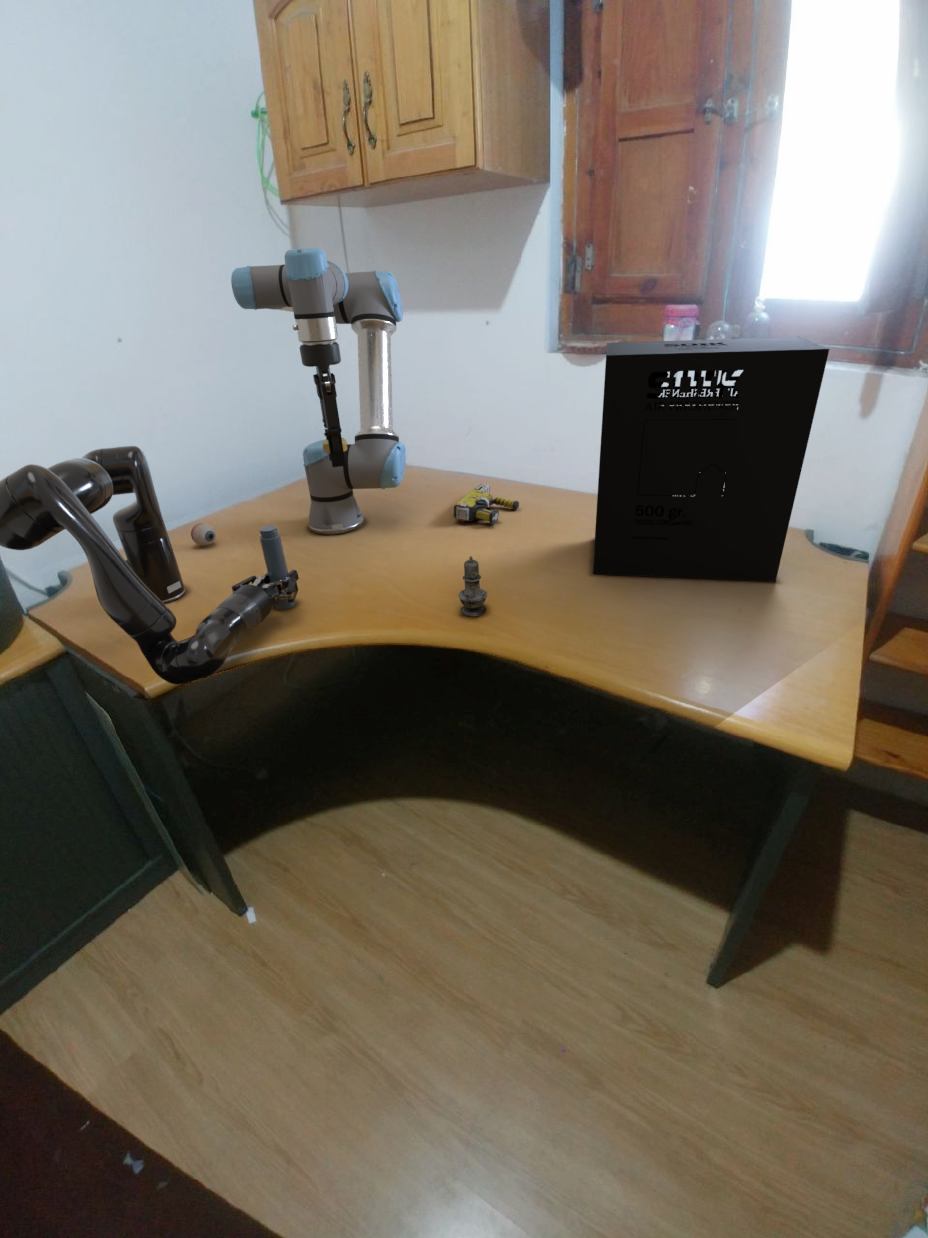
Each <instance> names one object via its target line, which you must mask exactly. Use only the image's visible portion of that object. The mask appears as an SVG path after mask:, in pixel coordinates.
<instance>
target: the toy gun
mask: <svg viewBox="0 0 928 1238" xmlns="http://www.w3.org/2000/svg"><path fill="white" fill-rule="evenodd" d="M493 505H495V506H500V507H504V508H510V509H512V510H514V511H516V510H518V509H519V507H520V502H519V501H518V500H512V499H508V498H504V497H500V496H496V497H495V498H493V496H492V494H491V485H490V484H488V483H486V484H485V483H482V482H481V483H480V484H479V485H477V486H476V487H475V488H473V489H471V491H469V492H468V493H467V494H465V496H464V497H462V498H461V499H460V500H459V501H458V502H456V503H455V504H454V505H453V511H452V513H453V514H452V517H453V518H454V519H455V520H457V522H462V523H464V522H465V521H467V522H471V521H477V520H482V521H483V520H484V521H486V522H489V525H492V526H493V524H495V523H497V522H498V521H499V515H500V509H498V508H494V510H493V509H492V507H491V506H493Z"/></svg>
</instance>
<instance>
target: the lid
mask: <svg viewBox="0 0 928 1238" xmlns="http://www.w3.org/2000/svg"><path fill="white" fill-rule="evenodd" d="M342 444H343V451H346V450H347V449H348V447H347V444H348V442H347V439H345V438H344V439H342ZM323 450H324V452H325V453H330V449H329V443H328V440H326V441H323Z"/></svg>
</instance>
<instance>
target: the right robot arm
mask: <svg viewBox="0 0 928 1238" xmlns="http://www.w3.org/2000/svg"><path fill="white" fill-rule="evenodd" d="M230 282H231V283H230V284H231V290H232V293H233V297H234V300H235V301H236V303H237V305H239V307H240V308H242V309H243V310H254V311H257V310H267V309H268V310H277V311H285V312H292V313H293V318H294V322H295V323H296V324H293V325H292V330H293V331H297V332H296V334H297V339H298V342H300V343H302V344H300V345H299V353H300V354H299V355H300V360H301V364H302V366H304V367H308V368H313V367H315V371H316V373H315V374H313V375H312V377H313V382H314V385H315V389H316V395H317V397H318V399H319V404H320V411H321V416H322V423H323V427H324V433H323V436H324V437H325V439H320V440H318V441H314V442H312V443H309V444H308V445H307V446H305V447H304V448H303V450H302V457H303V459H302V460H303V467H304V471H305V477H306V481H307V486H308V492H309V498H310V507H309V513H308V523H307V524H308V528H309V529H308V530H310V531H311V532H312V533H314V534H317V535H323V536H324V535H325V536H327V535H329V536H331V535H339V534H340V535H341V534H345V533H350V532H353V531H355V530H357V529H359V528H361V527H362V526H363V525H364V523H365V519H364V514H363V512H362V510H361V508H360V505H359V504H358V501H357V500H356V498H355V495H354V490H368V489H369V490H370V489H372V490H373V489H381V490H385V489H395V488H398V487H400V485H401V484H402V482H403V480H404V476H405V473H406V464H407V454H406V452H407V451H406V450H407V449H406V446H405V444H404V443H403V442H401V441H400V436H399V434H397V433H396V432H395V431H394V422H393V421H394V420H393V415H394V414H393V381H392V380H393V379H392V377H393V376H392V374H393V373H392V336H393V335H394V334H395V332H396V331H397V323H400V322H402V321H403V319H404V312H403V305H402V304H403V303H402V298H401V293H400V289H399V285H398V282H397V280H396V277H395V275H394V274H393V273H392V272H391V271H389V270H371V271H359V272H345V270H343V268H342V267H341V266H340V265H338V264H336V263H334V262H332V261H331V260H330V261H329V260H328V259H327V255H326V252H325V250H324V249H323V248H319V247H311V248H309V247H308V248H307V247H306V248H294V249H288V250H286V251H285V253H284V264H273V265H271V264H269V265H254V266H253V265H252V266H250V265H247V266H241V267H236V268H234V269H233V271H232V273H231V278H230ZM337 324H338V325H350V328H351V331H353V332H354V333H355V334H356V336H357V337H356V338H357V364H358V365H357V366H358V367H357V369H358V371H357V372H358V400H359V401H358V404H359V430H358V432H357V433H356V434H355V435H354V443H351V444H349V443H347V447H348V449H347V450H346V451H343V444H342V439H345V438H344V437H342V427H341V422H340V415H339V408H338V402H337V397H338V394H337V389H336V382H337V381H336V376H335V375H336V374H334V373H333V372H332V373H331V369H330V366H335V365H339V364H340V363H341V362H342V358H341V350H340V344H339V343H338V342H337V340H338V338H339V333H338V326H337ZM326 440H328V443H329V449H330V453H325V452H324V450H323V441H326Z"/></svg>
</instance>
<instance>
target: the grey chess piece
mask: <svg viewBox="0 0 928 1238" xmlns="http://www.w3.org/2000/svg"><path fill="white" fill-rule="evenodd" d="M463 572H464V574H463V576H462V579H463V583H464V588H463V589H462V590H461V591H459V592H458V594H457V596H458V597H457V598H458V599H459V601H460V603H461V605H462V606H461V608H460V613H461V615H463V616H466V617H479V616H482V615H484V614H486V612H487V607H486V606H485V605H484V604H485V602H486V601H487V597H488V591H486V590H485V589H483V588H481V581H480V580H482V575H480V567H479V562H478V561H477V560H475V559H473V556H472V555H469V557H468V559H467V560H465V561H464V563H463Z"/></svg>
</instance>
